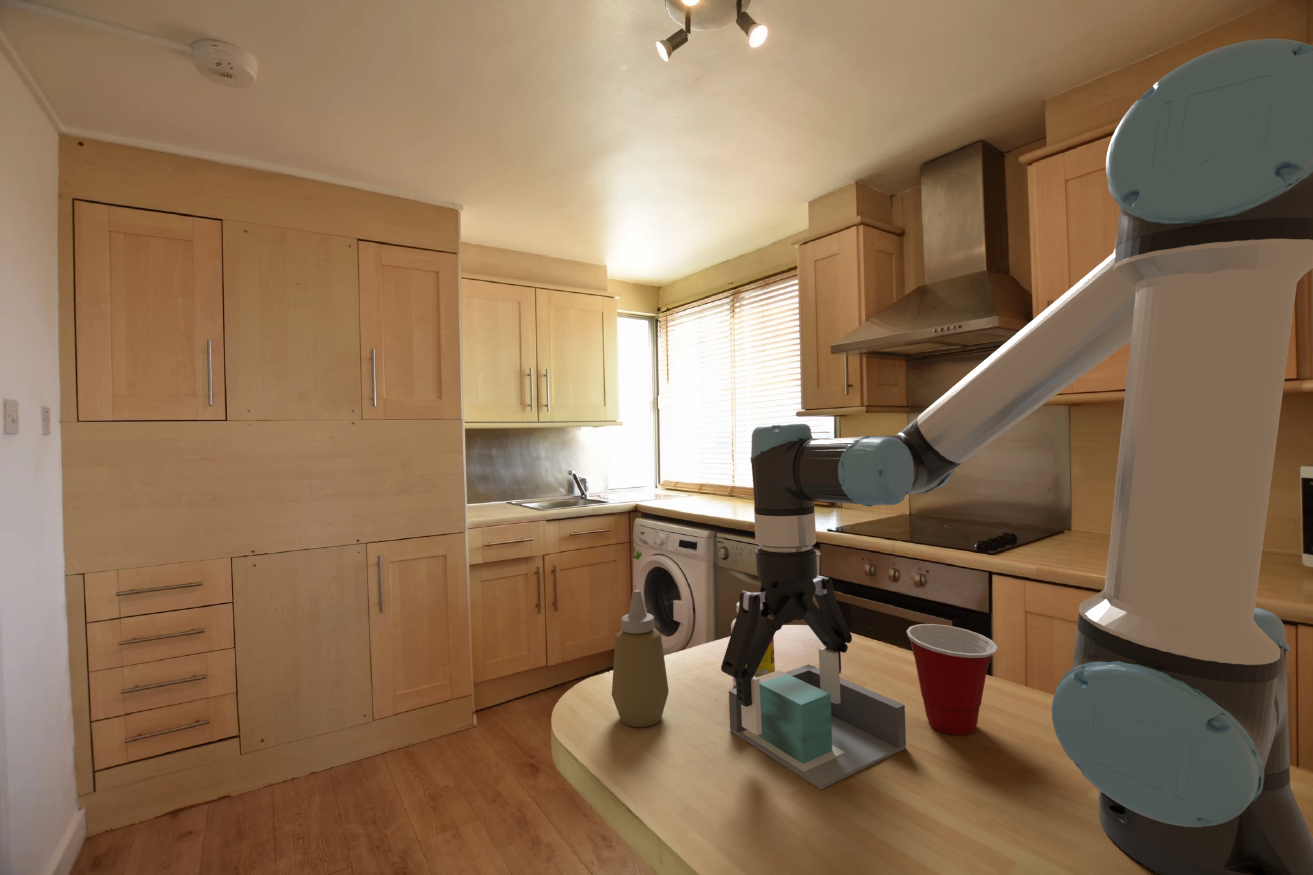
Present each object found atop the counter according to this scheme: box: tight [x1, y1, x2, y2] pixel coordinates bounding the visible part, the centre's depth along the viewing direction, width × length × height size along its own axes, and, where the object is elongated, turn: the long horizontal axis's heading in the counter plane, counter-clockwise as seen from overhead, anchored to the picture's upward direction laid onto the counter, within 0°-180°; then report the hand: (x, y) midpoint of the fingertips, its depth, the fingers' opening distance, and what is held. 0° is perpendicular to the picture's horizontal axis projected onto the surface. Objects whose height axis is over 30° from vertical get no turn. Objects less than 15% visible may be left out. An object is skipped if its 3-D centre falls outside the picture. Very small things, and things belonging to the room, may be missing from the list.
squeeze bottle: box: [611, 589, 669, 728], centre depth 83 cm, size 8×8×18 cm
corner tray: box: [728, 664, 907, 790], centre depth 76 cm, size 16×15×5 cm
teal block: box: [757, 669, 832, 764], centre depth 75 cm, size 9×5×7 cm, turn 32°
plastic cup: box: [906, 623, 998, 736], centre depth 78 cm, size 11×11×12 cm
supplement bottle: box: [730, 601, 776, 687], centre depth 93 cm, size 7×7×13 cm
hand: (793, 714), depth 74 cm, fingers open, 13 cm apart
